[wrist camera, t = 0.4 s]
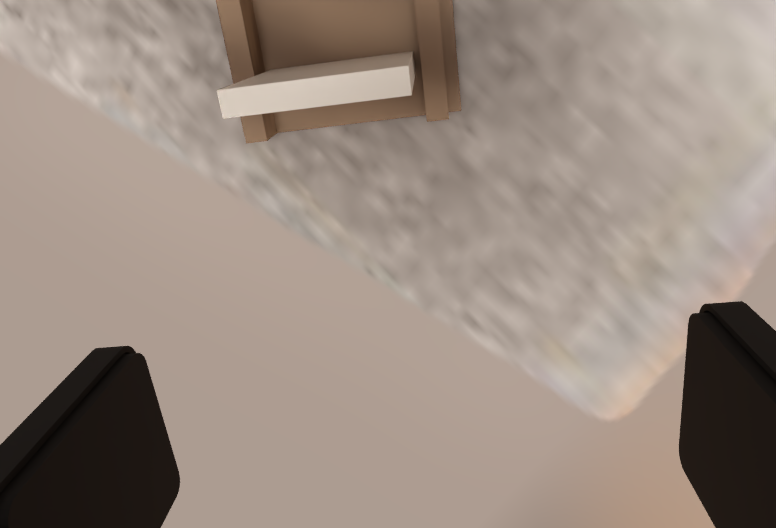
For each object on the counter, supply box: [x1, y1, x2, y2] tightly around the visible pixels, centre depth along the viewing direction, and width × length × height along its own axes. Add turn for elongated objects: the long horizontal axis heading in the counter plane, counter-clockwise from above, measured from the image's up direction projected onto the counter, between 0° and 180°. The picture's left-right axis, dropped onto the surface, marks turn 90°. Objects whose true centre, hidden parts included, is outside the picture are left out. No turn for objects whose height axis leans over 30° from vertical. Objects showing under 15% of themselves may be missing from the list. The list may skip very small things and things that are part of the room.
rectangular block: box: [217, 51, 416, 119], centre depth 31 cm, size 1×8×10 cm, turn 97°
